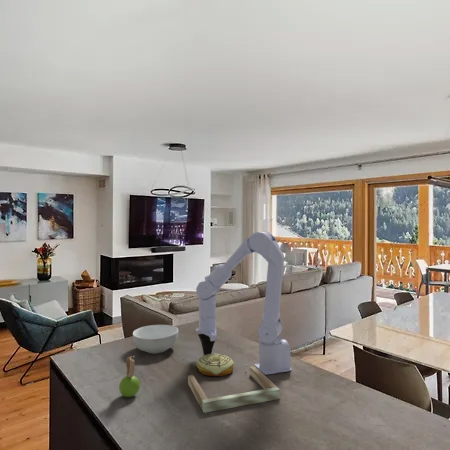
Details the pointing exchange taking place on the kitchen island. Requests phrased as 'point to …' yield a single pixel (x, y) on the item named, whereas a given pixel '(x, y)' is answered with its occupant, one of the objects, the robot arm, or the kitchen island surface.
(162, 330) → the cereal bowl
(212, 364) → the decorated donut
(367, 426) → the kitchen island surface
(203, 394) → the wooden bar frame
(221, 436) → the kitchen island surface
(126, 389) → the snail figurine
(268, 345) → the robot arm
